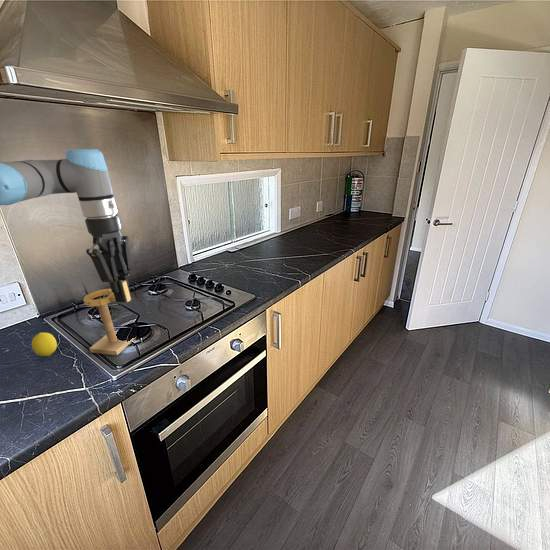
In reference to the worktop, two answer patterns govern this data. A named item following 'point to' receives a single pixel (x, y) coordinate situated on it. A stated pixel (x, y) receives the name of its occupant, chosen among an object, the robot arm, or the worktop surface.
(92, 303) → the hang ring
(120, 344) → the peg stand
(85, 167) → the robot arm
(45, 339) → the lemon
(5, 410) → the worktop surface
